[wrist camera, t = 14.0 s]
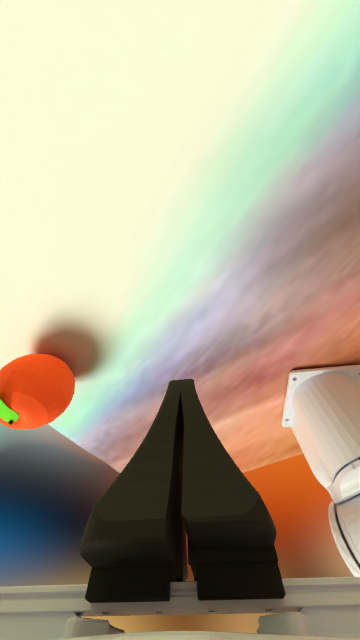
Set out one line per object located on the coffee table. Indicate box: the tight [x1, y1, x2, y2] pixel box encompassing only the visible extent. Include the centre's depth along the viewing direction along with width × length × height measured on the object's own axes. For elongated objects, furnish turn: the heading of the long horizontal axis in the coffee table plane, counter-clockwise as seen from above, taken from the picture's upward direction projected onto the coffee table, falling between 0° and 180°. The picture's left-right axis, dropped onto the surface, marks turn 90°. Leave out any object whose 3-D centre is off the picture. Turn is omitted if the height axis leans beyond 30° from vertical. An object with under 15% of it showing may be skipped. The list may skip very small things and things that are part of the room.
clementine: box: [0, 354, 75, 429], centre depth 21 cm, size 8×7×7 cm
